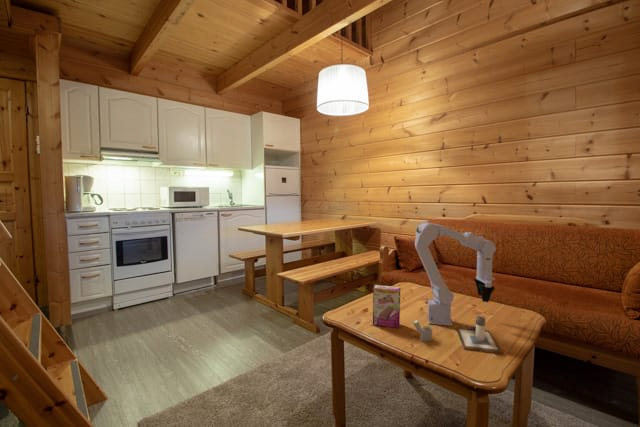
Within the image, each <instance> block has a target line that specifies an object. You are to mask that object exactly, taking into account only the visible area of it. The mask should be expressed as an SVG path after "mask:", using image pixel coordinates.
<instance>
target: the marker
mask: <svg viewBox="0 0 640 427" xmlns="http://www.w3.org/2000/svg"><path fill="white" fill-rule="evenodd" d="M475 327H476V338H475V340H476V341H478V342H484V341H485V330H486V318H485V317H483V316H476V318H475Z"/></svg>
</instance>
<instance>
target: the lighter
mask: <svg viewBox="0 0 640 427" xmlns="http://www.w3.org/2000/svg"><path fill="white" fill-rule="evenodd" d="M412 322H413V324H414V327H415V329H416V330H417V332H418V333H419V340H420V342H431V341H432V340H433V329H432V328H431V327H430V326H428V325H426V326H425V325H423V327H421V325H420V323H419V321H418V320H417V319H415V320H414V321H412Z"/></svg>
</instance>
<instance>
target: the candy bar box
mask: <svg viewBox="0 0 640 427" xmlns="http://www.w3.org/2000/svg"><path fill="white" fill-rule="evenodd" d="M372 291H373V292H372V293H373V294H372V297H373V298H372V325H373V326H379V327H386V328H396V329H400V324H401V323H400V322H401V321H400V320H401V317H400V315H401V287H400V286H393V285H380V284H374V286H373V290H372Z"/></svg>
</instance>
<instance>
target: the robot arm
mask: <svg viewBox="0 0 640 427" xmlns="http://www.w3.org/2000/svg"><path fill="white" fill-rule="evenodd" d="M442 236H445V237H448V238H451V239H455V240H457V241H459V242H460V244H461V245H462V246H465V247H467V248H470V249H472V250H475V251H477V252H476V253H477V254H476V255H477V256H476V276H475V278H473V280H474V282H475V286H476V290H477V295H478V296H481V299H482V302H484V303H489V302H490V299H491V296H492V294H493V292H494V290H495V288H496V287H495V286H494V285H492V281H496V277H492V276H493V258H494V253H495V252H496V250H497V247H496V246H495V243H494V242H493V241H492V240H488V239H486V238H485V237H483V236H478V235H476V234H474V232H471V231H469V232H466V231H465V232H463V233H461V232H459V231H457V230H454V229H452V228H450V227H447V226H444V225H441V224H437V223H433V222H429V221H421V222H420V223H419V224H418V225H417V227H416V229H415V239H414V247H415V250H416V252H417V254H418V257H419V259H420V261H421V264H422V265H423V268H424V270H425V272H426V275H427V276H428V279H429V281H430V285H431V293H432V295H433V298H432V299H431V300H428V301H427V313H426V317H427V322H428V324H430V325H440V326H446V327H447V326H448V327H449V326H450V327H453V322H452V319H451V318H452V315H451V314H452V302H453V301H454V297H455V296H454V293H453V292H452V291H451V290H449V288H448V286H447V284H446V283H445V281H444V279H443V277H442V275H441V273H440V270H439V268H438V266H437V263H436V262H435V260H434V257H433V255H432V253H431V250H430V248H429V246H430V244H431V243H432V242H433V241H434V240H435V239H436V238H437V237H442Z"/></svg>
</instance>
